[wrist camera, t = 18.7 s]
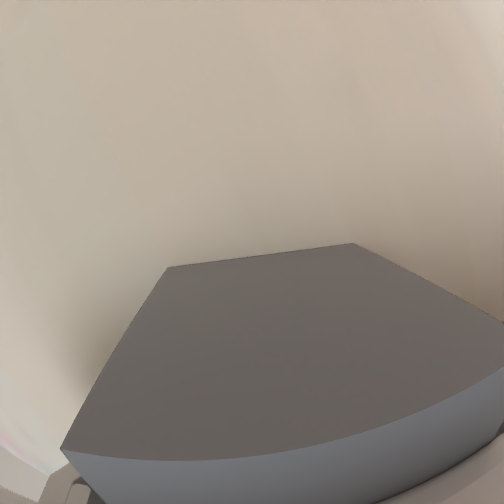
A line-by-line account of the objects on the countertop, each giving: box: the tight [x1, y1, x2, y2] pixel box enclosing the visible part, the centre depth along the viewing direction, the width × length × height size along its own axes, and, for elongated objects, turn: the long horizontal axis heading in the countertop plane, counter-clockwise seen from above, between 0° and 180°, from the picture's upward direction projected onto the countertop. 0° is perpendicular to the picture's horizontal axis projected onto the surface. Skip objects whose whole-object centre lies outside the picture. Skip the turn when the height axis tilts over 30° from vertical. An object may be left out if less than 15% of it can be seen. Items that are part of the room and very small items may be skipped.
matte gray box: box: [60, 243, 504, 504], centre depth 8 cm, size 7×7×9 cm
